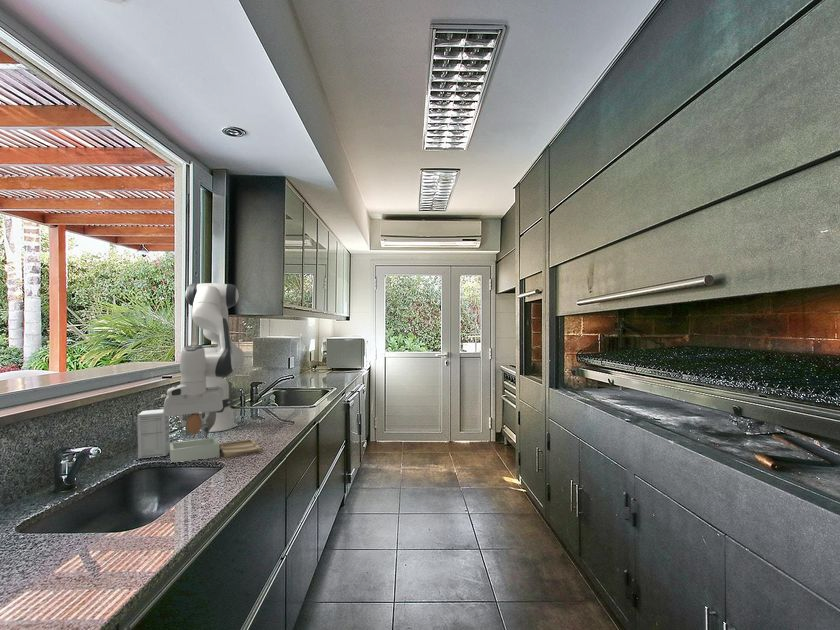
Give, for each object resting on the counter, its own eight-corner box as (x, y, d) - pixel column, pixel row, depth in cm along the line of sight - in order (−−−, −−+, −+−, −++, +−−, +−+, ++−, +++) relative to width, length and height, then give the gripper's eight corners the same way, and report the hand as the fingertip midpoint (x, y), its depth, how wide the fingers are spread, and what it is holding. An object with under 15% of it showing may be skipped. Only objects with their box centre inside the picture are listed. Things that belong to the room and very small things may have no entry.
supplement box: (170, 451, 182) (170, 408, 183) (166, 457, 174) (166, 412, 174) (142, 453, 179) (142, 410, 179) (137, 460, 170) (136, 414, 171)
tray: (218, 447, 186) (218, 443, 186) (252, 442, 192) (252, 439, 192) (224, 458, 170) (224, 454, 170) (261, 452, 177) (261, 448, 177)
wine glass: (190, 449, 184) (190, 411, 184) (208, 444, 191) (207, 408, 191) (203, 451, 180) (203, 413, 180) (221, 446, 187) (220, 409, 187)
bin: (169, 456, 174) (169, 443, 175) (215, 449, 183) (215, 437, 183) (170, 464, 164) (170, 450, 164) (219, 456, 172) (219, 443, 172)
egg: (204, 432, 177) (203, 411, 177) (198, 435, 171) (197, 414, 171) (190, 432, 176) (190, 412, 176) (183, 436, 171) (183, 414, 171)
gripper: (222, 385, 182) (222, 420, 182) (162, 389, 172) (163, 427, 172) (224, 387, 176) (224, 423, 176) (163, 392, 166) (163, 430, 166)
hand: (193, 425), depth 174 cm, fingers closed on egg, 5 cm apart
